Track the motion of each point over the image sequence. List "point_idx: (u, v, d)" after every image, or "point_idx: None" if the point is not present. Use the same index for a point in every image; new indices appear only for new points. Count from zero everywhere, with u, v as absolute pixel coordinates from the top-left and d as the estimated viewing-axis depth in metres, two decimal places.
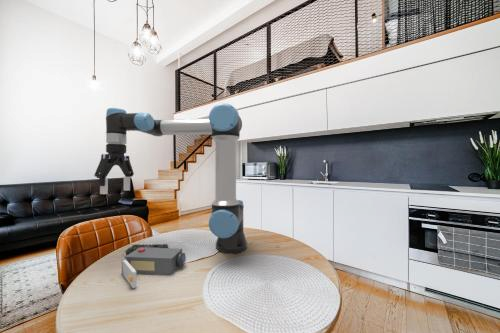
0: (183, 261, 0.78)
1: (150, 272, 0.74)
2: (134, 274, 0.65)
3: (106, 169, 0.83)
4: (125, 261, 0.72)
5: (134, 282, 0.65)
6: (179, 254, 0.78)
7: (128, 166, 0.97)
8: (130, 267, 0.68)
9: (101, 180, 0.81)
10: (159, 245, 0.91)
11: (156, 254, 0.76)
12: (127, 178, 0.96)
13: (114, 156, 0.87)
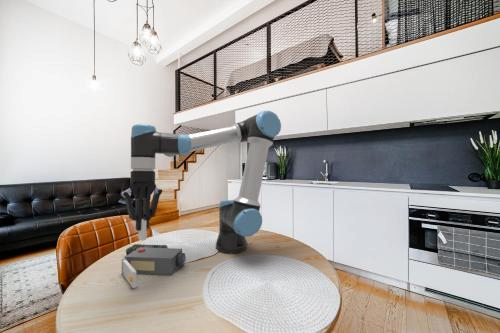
0: (183, 261, 0.78)
1: (150, 272, 0.74)
2: (134, 274, 0.65)
3: (137, 209, 0.68)
4: (125, 261, 0.72)
5: (134, 282, 0.65)
6: (179, 254, 0.78)
7: (153, 202, 0.72)
8: (130, 267, 0.68)
9: (136, 223, 0.68)
10: (158, 246, 0.90)
11: (156, 254, 0.76)
12: None
13: (135, 186, 0.67)
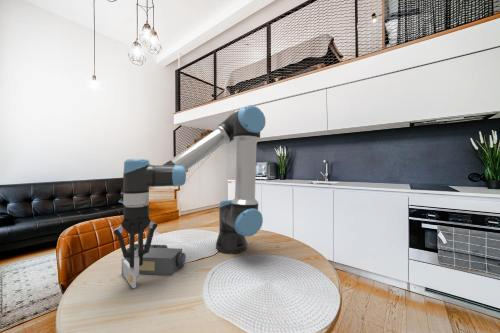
0: (183, 261, 0.78)
1: (150, 272, 0.74)
2: (134, 274, 0.65)
3: (129, 246, 0.66)
4: (125, 261, 0.72)
5: (134, 282, 0.65)
6: (179, 254, 0.78)
7: (148, 237, 0.69)
8: None
9: None
10: (158, 246, 0.91)
11: (156, 254, 0.76)
12: None
13: (127, 223, 0.65)
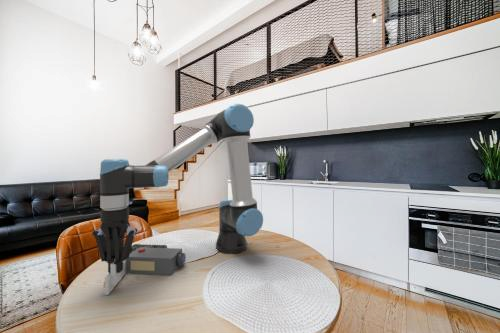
0: (183, 261, 0.78)
1: (150, 272, 0.74)
2: (106, 280, 0.61)
3: None
4: None
5: (106, 288, 0.61)
6: (179, 254, 0.78)
7: None
8: None
9: None
10: (158, 246, 0.91)
11: (156, 254, 0.76)
12: None
13: (104, 225, 0.63)
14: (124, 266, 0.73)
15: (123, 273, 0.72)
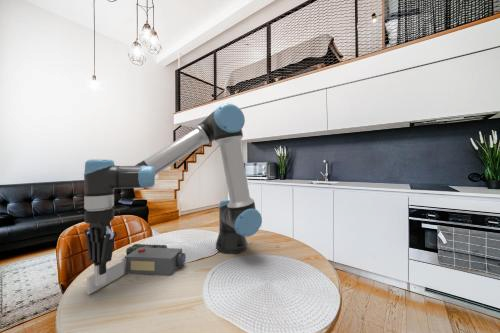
0: (183, 261, 0.78)
1: (150, 272, 0.74)
2: (88, 280, 0.61)
3: None
4: (119, 262, 0.71)
5: (88, 288, 0.61)
6: (179, 254, 0.78)
7: None
8: None
9: None
10: (158, 246, 0.91)
11: (156, 254, 0.76)
12: None
13: (90, 225, 0.64)
14: (122, 266, 0.72)
15: (120, 273, 0.72)
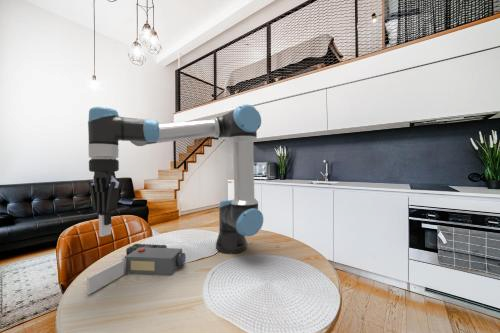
0: (183, 261, 0.78)
1: (150, 272, 0.74)
2: (88, 280, 0.61)
3: None
4: (119, 262, 0.71)
5: (88, 288, 0.61)
6: (179, 254, 0.78)
7: None
8: (101, 270, 0.66)
9: None
10: (158, 246, 0.91)
11: (156, 254, 0.76)
12: None
13: (95, 176, 0.63)
14: (122, 266, 0.72)
15: (120, 273, 0.72)
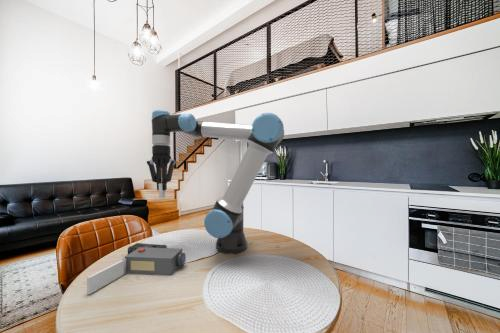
0: (183, 261, 0.78)
1: (150, 272, 0.74)
2: (88, 280, 0.61)
3: None
4: (119, 262, 0.71)
5: (88, 288, 0.61)
6: (179, 254, 0.78)
7: None
8: (101, 270, 0.66)
9: None
10: (158, 245, 0.91)
11: (156, 254, 0.76)
12: None
13: (154, 157, 0.91)
14: (122, 266, 0.72)
15: (120, 273, 0.72)
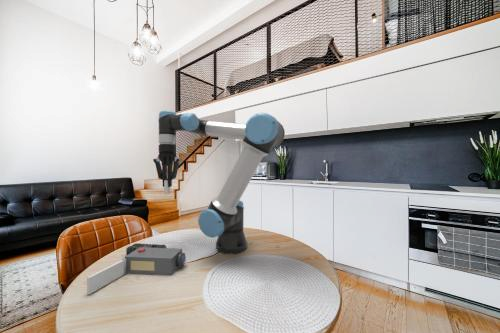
0: (183, 261, 0.78)
1: (150, 272, 0.74)
2: (88, 280, 0.61)
3: None
4: (119, 262, 0.71)
5: (88, 288, 0.61)
6: (179, 254, 0.78)
7: None
8: (101, 270, 0.66)
9: None
10: (157, 245, 0.91)
11: (156, 254, 0.76)
12: None
13: (160, 155, 0.95)
14: (122, 266, 0.72)
15: (120, 273, 0.72)
